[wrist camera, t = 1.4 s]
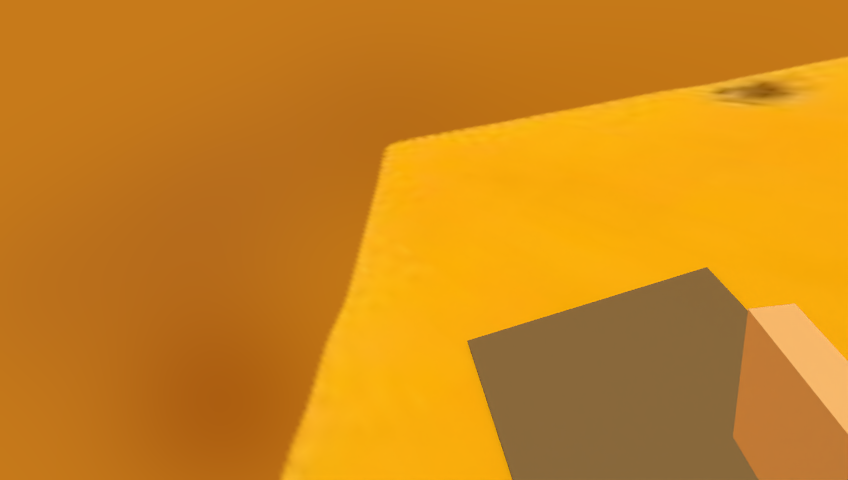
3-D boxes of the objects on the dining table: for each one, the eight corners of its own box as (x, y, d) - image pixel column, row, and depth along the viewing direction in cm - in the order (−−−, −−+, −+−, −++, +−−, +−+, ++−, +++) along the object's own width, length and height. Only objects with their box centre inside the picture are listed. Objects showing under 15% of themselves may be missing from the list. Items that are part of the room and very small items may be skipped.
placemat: (707, 269, 53) (706, 267, 53) (903, 480, 36) (903, 477, 36) (468, 343, 53) (467, 340, 53) (548, 588, 36) (547, 586, 36)
